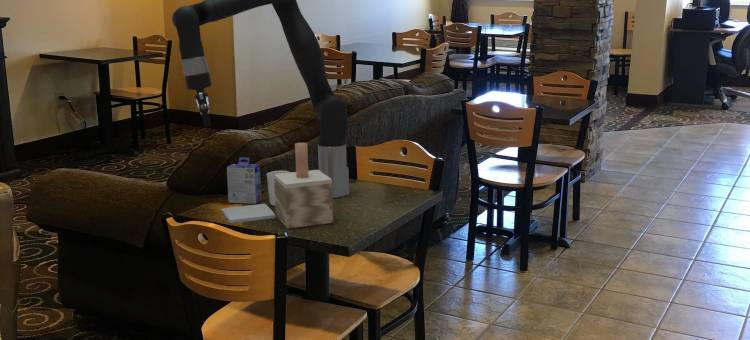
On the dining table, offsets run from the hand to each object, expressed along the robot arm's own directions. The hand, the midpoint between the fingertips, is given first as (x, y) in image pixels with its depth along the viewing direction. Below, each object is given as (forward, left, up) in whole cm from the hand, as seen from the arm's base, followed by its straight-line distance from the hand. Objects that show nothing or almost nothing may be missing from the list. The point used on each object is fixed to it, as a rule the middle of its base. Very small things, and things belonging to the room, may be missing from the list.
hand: (207, 125), depth 249 cm
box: (-24, +20, -27) cm, 42 cm away
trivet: (-9, +8, -27) cm, 30 cm away
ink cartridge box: (-12, -8, -28) cm, 31 cm away
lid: (-24, +20, -15) cm, 35 cm away
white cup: (-22, -1, -28) cm, 35 cm away
